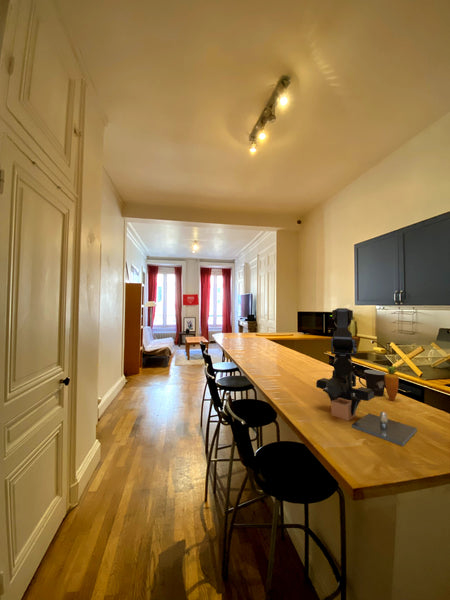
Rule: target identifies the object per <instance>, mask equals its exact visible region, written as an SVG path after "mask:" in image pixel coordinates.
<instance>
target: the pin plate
mask: <svg viewBox="0 0 450 600" xmlns="http://www.w3.org/2000/svg"><path fill="white" fill-rule="evenodd" d="M351 428H353V429H355V430H358V431H360V432H364V433H366V434H369V435H371V436H374V437H376V438H380V439H383V440H385V441H387V442H390V443H393V444H396V445H398V446H402V447H404V446H405V444H407V443H408V441H409V440H410V439H411V438H412V437H414V435H415V434H416V433H417V431H418V430H417V429H418V428H417V427H415V426H412V425H409V424H406V423H402V422H399V421H395V420H392V419H389V418H388V414H387V412H386V411H381V412H380V413H379V415H376V414H373V413H367V414H366V415H364V416H363V417H361V418H360V419H358V420H356V421H355V422H353V423H351Z"/></svg>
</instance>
